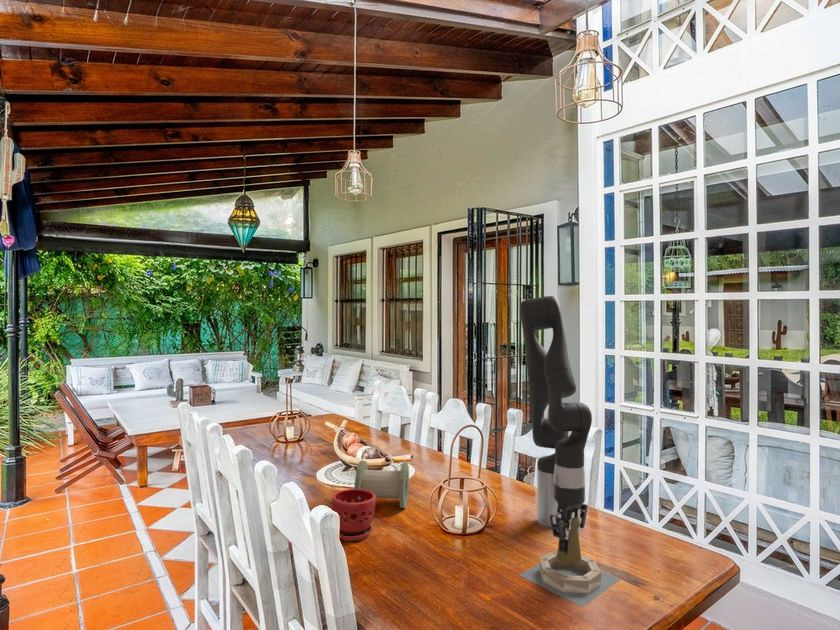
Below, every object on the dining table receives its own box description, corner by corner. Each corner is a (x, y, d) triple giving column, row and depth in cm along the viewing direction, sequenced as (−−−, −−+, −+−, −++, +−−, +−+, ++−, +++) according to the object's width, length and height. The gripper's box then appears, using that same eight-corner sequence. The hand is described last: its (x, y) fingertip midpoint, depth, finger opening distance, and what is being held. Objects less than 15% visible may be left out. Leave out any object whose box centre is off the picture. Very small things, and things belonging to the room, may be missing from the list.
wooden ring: (560, 557, 136) (561, 546, 136) (609, 578, 125) (609, 566, 125) (529, 575, 126) (529, 563, 126) (579, 599, 116) (579, 587, 116)
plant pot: (368, 546, 143) (368, 504, 143) (325, 542, 146) (325, 501, 146) (380, 527, 156) (380, 488, 156) (340, 523, 159) (340, 485, 158)
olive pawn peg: (562, 550, 130) (562, 508, 130) (585, 557, 126) (585, 514, 126) (552, 559, 125) (552, 515, 125) (575, 566, 121) (576, 522, 121)
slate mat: (558, 554, 138) (558, 552, 138) (621, 581, 125) (621, 578, 125) (518, 577, 127) (518, 575, 127) (582, 609, 113) (582, 607, 113)
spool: (409, 498, 180) (409, 456, 180) (403, 515, 165) (403, 470, 165) (364, 496, 181) (364, 455, 181) (354, 513, 166) (354, 468, 166)
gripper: (571, 472, 133) (571, 536, 133) (540, 484, 124) (539, 553, 124) (597, 479, 127) (597, 546, 128) (566, 492, 118) (566, 564, 118)
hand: (568, 549), depth 126 cm, fingers closed on olive pawn peg, 4 cm apart
